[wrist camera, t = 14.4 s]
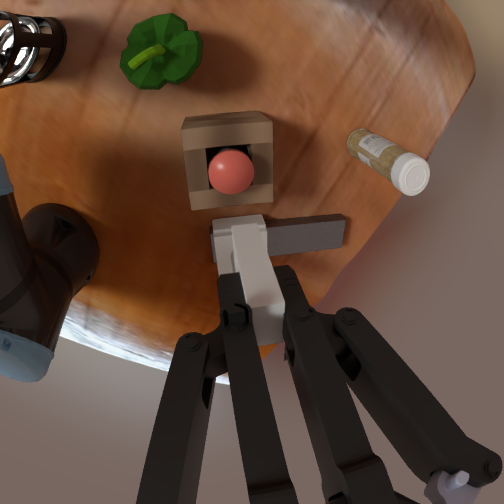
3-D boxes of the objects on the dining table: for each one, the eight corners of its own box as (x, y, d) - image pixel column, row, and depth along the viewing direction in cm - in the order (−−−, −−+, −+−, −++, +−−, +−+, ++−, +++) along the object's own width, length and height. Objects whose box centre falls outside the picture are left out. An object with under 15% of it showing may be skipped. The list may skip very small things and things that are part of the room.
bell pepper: (197, 16, 25) (195, -3, 17) (207, 77, 30) (209, 78, 22) (128, 34, 25) (102, 24, 17) (140, 93, 30) (118, 102, 22)
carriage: (217, 263, 46) (227, 347, 33) (212, 219, 41) (219, 300, 28) (262, 258, 46) (286, 338, 33) (261, 214, 42) (290, 290, 29)
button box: (193, 184, 38) (191, 212, 31) (185, 117, 33) (180, 129, 26) (260, 177, 39) (273, 203, 32) (258, 110, 33) (272, 121, 27)
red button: (208, 170, 35) (210, 196, 29) (205, 136, 32) (206, 154, 26) (244, 166, 36) (255, 192, 29) (242, 132, 33) (253, 149, 26)
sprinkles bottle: (346, 159, 39) (398, 200, 28) (344, 129, 36) (400, 160, 25) (373, 154, 39) (429, 193, 28) (372, 125, 36) (433, 156, 25)
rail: (213, 255, 45) (214, 263, 43) (209, 227, 42) (210, 234, 40) (336, 240, 47) (341, 247, 45) (340, 213, 44) (345, 220, 42)
